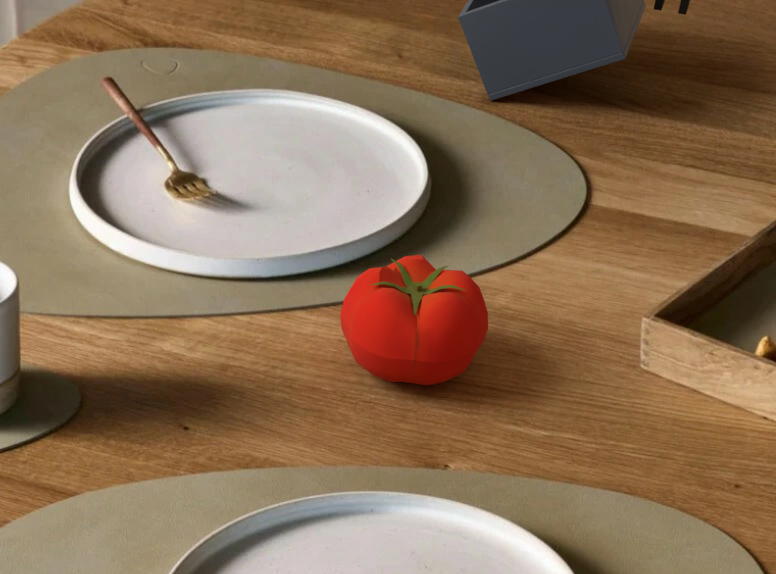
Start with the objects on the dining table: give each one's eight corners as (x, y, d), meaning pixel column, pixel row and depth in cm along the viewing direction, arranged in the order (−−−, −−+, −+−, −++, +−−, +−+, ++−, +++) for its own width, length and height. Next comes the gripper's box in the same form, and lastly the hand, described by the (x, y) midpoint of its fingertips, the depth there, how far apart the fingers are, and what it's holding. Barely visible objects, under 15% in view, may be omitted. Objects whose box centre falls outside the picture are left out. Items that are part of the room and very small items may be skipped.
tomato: (497, 344, 118) (511, 260, 113) (450, 420, 110) (463, 333, 105) (369, 309, 121) (377, 225, 116) (315, 379, 113) (321, 293, 108)
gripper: (638, -260, 130) (589, 8, 145) (814, -237, 127) (745, 34, 142) (650, -279, 136) (601, -20, 151) (818, -258, 133) (751, 5, 148)
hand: (671, 6), depth 147 cm, fingers closed on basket, 2 cm apart
